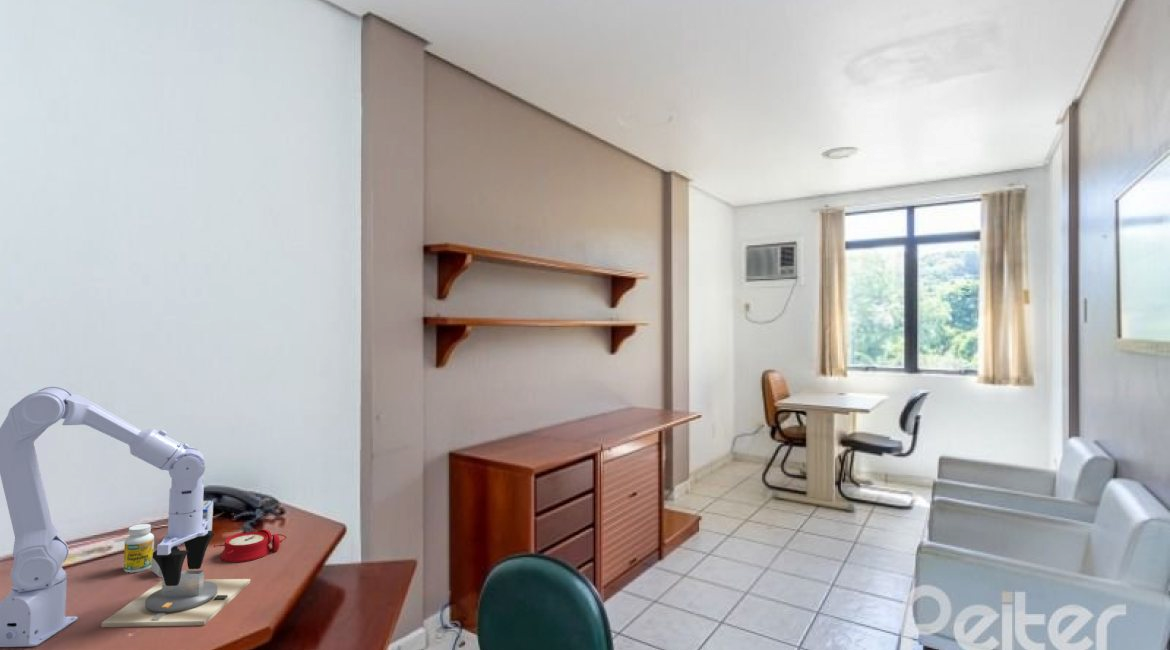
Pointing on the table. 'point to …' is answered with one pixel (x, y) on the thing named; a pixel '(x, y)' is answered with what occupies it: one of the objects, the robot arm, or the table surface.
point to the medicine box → (208, 512)
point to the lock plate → (198, 615)
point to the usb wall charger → (155, 568)
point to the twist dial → (182, 594)
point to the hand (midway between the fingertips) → (183, 576)
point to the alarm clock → (249, 546)
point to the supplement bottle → (138, 548)
